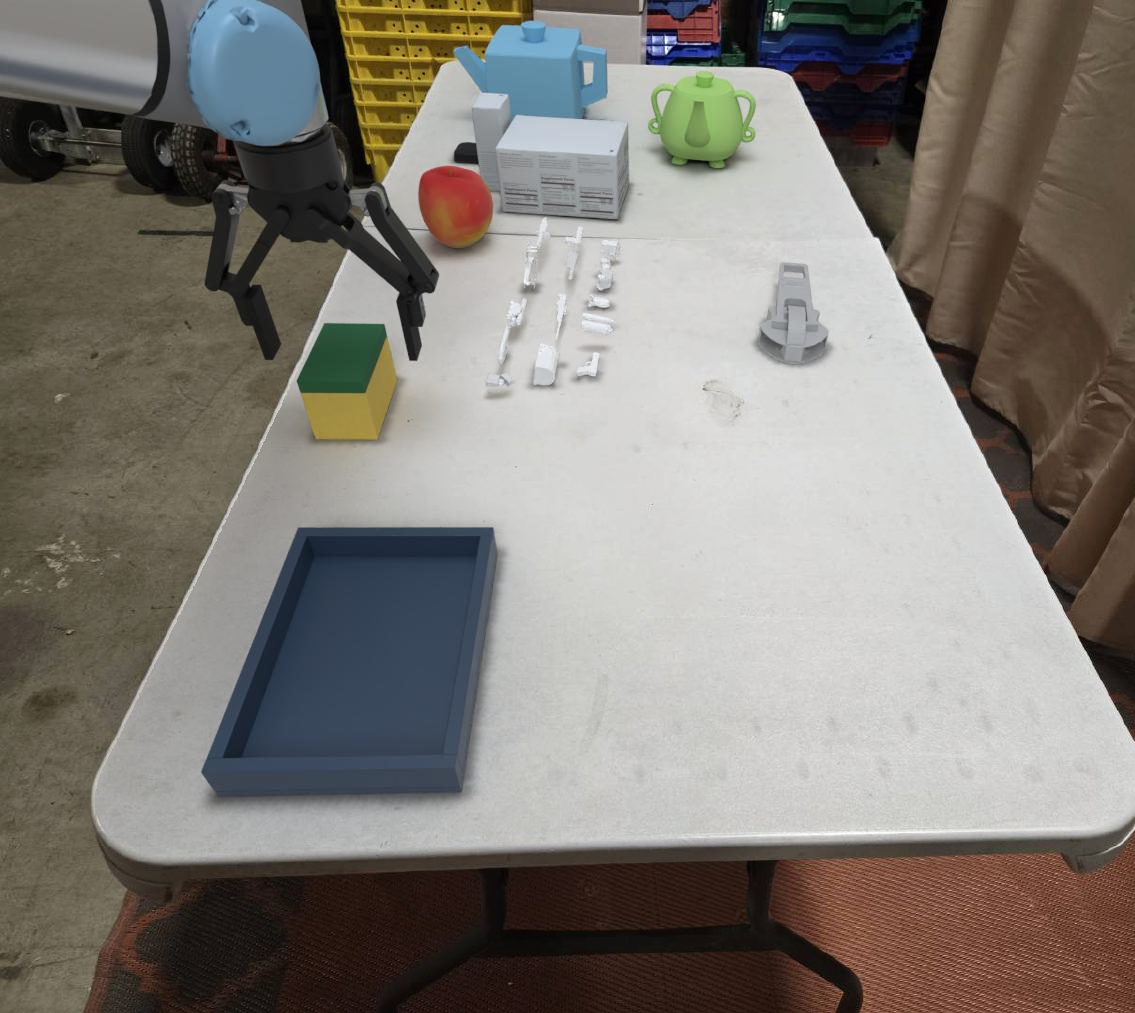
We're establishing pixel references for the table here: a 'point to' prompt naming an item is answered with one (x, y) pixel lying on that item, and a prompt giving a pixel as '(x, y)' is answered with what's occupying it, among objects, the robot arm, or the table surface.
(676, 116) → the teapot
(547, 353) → the miniature set
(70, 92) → the robot arm
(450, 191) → the apple
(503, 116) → the cosmetic box
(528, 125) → the supplement box
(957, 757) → the table surface
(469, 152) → the remote control
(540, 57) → the container
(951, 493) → the table surface
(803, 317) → the zipper pull
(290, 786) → the tray
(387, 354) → the sponge
